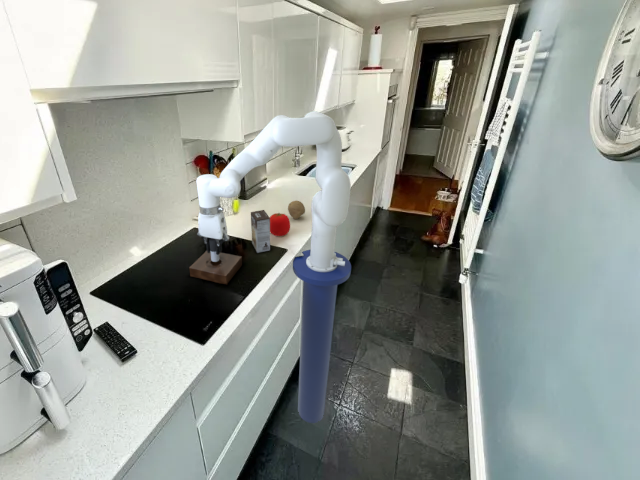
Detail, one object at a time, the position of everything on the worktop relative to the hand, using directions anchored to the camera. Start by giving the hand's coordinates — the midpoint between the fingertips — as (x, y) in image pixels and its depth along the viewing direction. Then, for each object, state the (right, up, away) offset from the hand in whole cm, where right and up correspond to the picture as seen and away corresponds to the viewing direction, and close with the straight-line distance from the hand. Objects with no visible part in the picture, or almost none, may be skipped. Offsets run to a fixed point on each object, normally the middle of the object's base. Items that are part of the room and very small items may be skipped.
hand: (214, 251), depth 119 cm
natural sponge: (+38, +14, +45) cm, 60 cm away
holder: (0, -8, +4) cm, 9 cm away
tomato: (+27, +6, +29) cm, 41 cm away
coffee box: (+18, 0, +19) cm, 27 cm away
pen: (0, -3, +2) cm, 4 cm away
